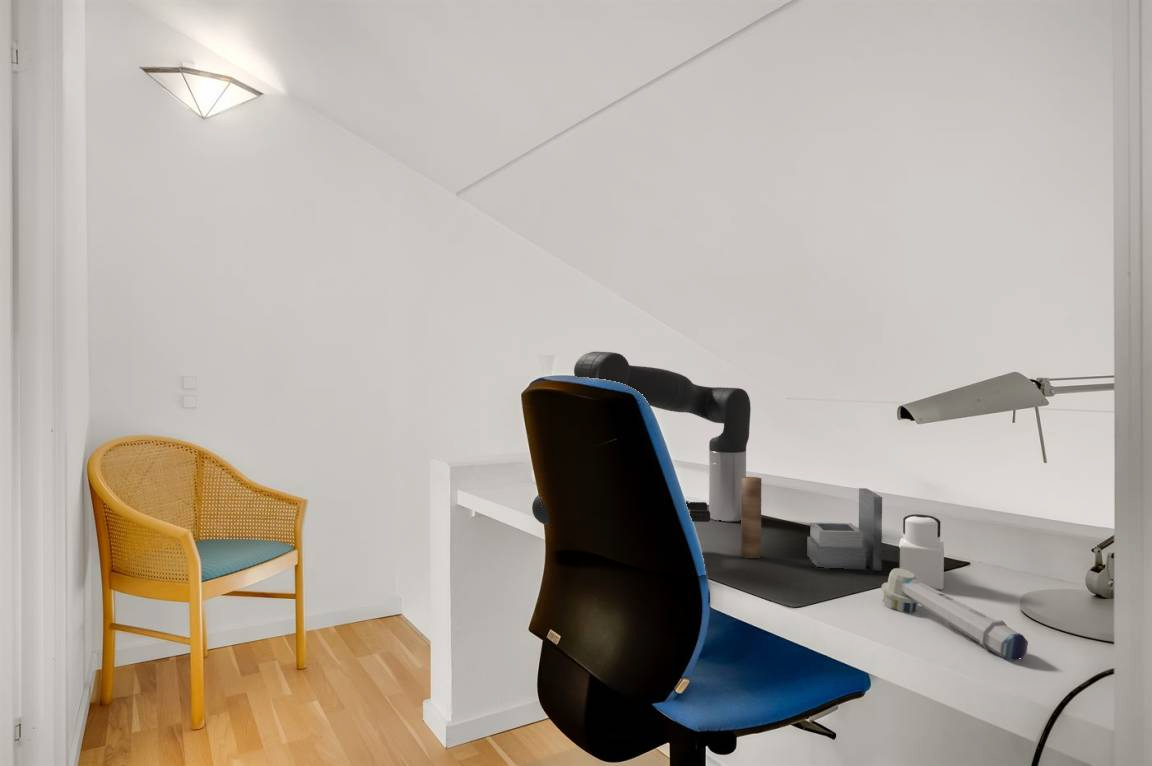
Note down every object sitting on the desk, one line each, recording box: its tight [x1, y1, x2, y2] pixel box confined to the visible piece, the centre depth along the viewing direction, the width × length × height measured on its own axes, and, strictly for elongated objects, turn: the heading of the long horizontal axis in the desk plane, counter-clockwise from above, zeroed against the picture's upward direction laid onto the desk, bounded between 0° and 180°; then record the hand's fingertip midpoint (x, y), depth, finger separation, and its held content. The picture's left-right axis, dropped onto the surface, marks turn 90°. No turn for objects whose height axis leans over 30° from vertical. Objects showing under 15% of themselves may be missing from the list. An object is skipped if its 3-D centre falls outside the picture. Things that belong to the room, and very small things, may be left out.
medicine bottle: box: [898, 513, 945, 591], centre depth 131 cm, size 7×7×12 cm
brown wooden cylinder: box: [740, 476, 762, 559], centre depth 149 cm, size 4×4×16 cm
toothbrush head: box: [880, 567, 1029, 661], centre depth 109 cm, size 5×7×25 cm
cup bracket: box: [806, 487, 883, 572], centre depth 144 cm, size 10×12×14 cm
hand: (708, 511), depth 150 cm, fingers open, 8 cm apart
